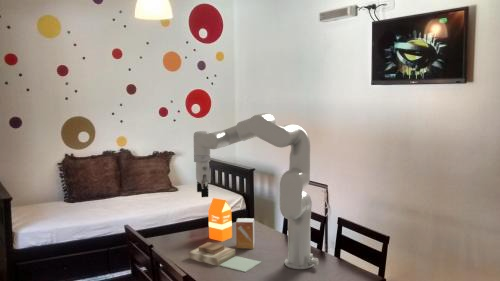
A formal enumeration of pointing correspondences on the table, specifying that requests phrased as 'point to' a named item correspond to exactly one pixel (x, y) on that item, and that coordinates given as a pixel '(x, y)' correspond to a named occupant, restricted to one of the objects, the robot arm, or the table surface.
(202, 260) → the deck
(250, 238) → the small box
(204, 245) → the tile
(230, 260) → the mat
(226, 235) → the orange juice
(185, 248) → the table surface
